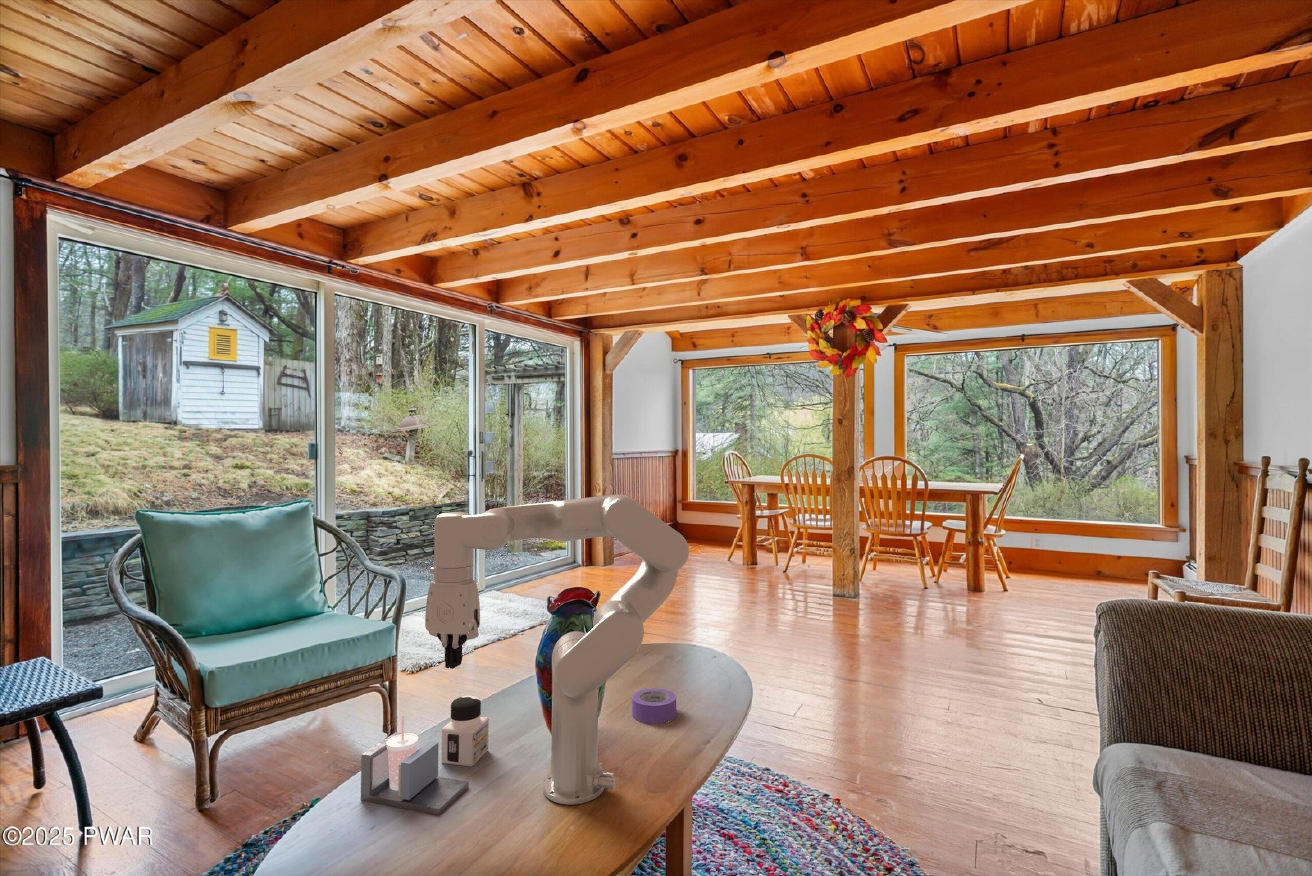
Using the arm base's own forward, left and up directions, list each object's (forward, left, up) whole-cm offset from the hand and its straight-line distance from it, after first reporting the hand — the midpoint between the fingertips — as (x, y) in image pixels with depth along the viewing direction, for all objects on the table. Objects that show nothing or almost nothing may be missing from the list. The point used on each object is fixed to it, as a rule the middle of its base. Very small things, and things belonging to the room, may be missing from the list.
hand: (453, 666), depth 122 cm
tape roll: (-28, -50, -27) cm, 63 cm away
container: (+7, -16, -27) cm, 32 cm away
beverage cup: (+12, 0, -26) cm, 28 cm away
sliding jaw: (+8, 0, -25) cm, 26 cm away
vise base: (+8, 0, -27) cm, 28 cm away
